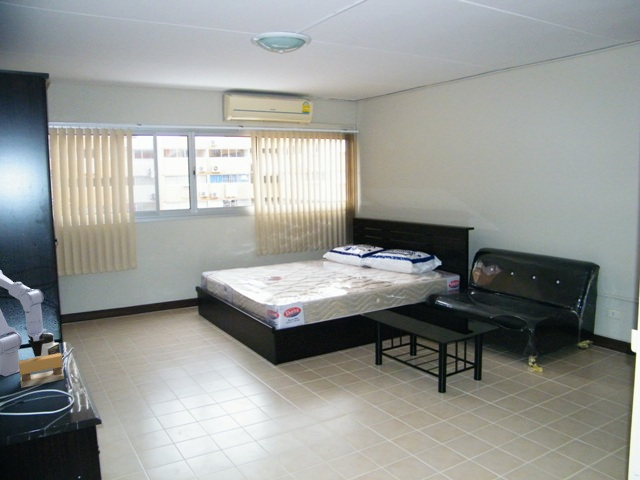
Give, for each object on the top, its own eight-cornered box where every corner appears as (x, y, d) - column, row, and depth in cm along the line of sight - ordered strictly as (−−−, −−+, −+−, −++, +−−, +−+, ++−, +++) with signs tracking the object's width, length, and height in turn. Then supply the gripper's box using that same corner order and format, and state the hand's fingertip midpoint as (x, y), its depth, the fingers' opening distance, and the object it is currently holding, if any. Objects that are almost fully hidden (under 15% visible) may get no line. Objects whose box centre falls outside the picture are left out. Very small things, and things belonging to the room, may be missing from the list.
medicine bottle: (49, 364, 224) (46, 337, 222) (35, 363, 225) (32, 336, 223) (60, 358, 231) (58, 332, 229) (46, 357, 232) (44, 331, 230)
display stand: (21, 387, 200) (19, 376, 199) (20, 380, 207) (19, 369, 206) (64, 378, 207) (63, 368, 207) (62, 372, 214) (61, 361, 214)
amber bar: (20, 375, 201) (18, 363, 200) (19, 371, 204) (18, 360, 204) (62, 366, 208) (61, 355, 208) (62, 363, 212) (61, 352, 211)
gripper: (46, 323, 203) (49, 356, 205) (44, 314, 216) (47, 345, 218) (25, 326, 200) (29, 360, 202) (25, 317, 212) (28, 349, 214)
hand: (37, 353), depth 209 cm, fingers open, 7 cm apart
